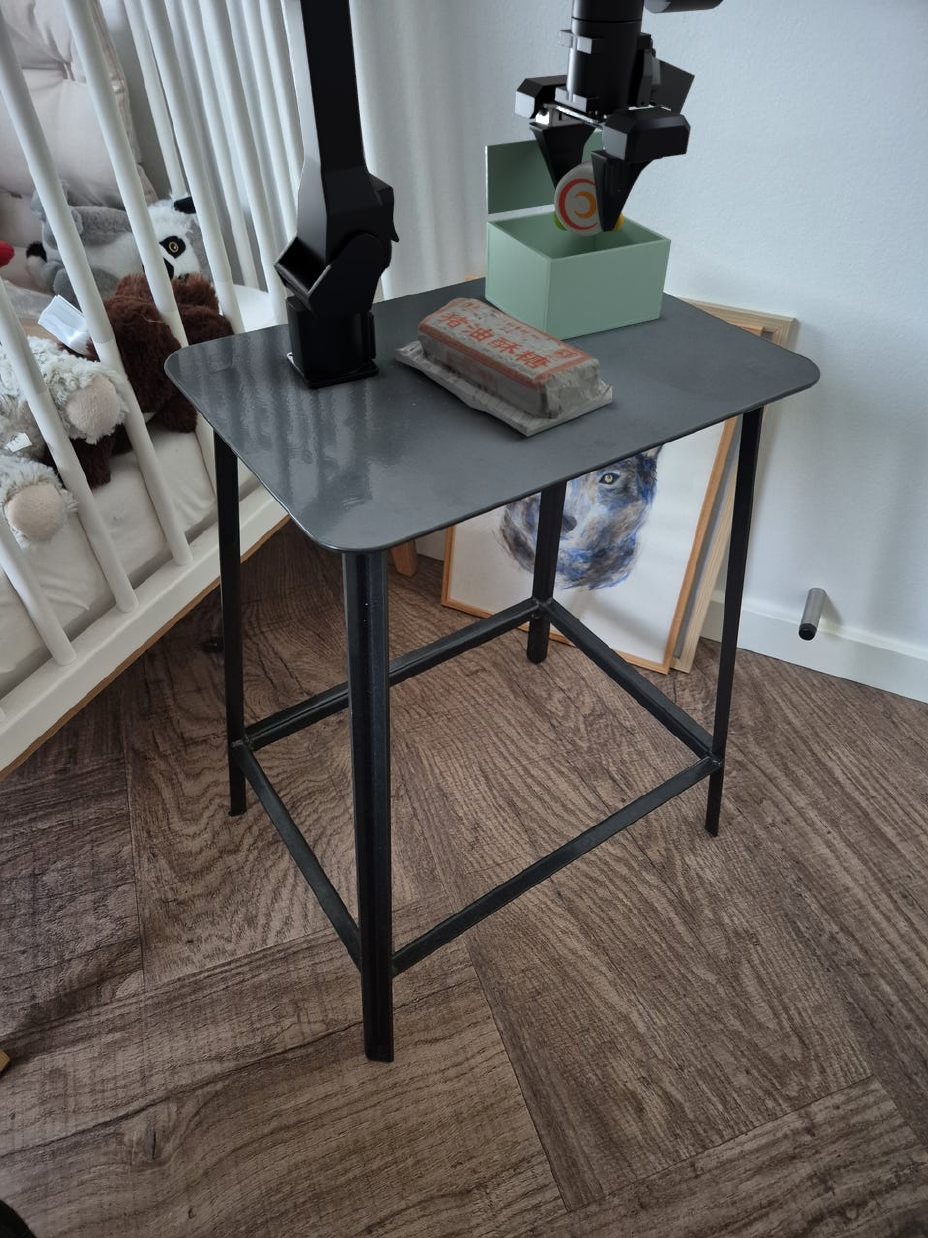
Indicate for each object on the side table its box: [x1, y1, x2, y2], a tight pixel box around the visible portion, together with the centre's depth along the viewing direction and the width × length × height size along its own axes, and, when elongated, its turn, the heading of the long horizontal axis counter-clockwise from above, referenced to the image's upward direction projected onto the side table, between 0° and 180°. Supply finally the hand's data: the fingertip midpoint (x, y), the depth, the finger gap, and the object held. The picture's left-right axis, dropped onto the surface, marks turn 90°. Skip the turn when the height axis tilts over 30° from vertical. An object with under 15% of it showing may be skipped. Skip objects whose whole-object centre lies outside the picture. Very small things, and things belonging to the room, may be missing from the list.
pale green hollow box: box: [484, 210, 672, 341], centre depth 86 cm, size 13×12×8 cm
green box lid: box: [485, 130, 605, 215], centre depth 85 cm, size 13×6×1 cm
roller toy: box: [553, 160, 624, 236], centre depth 81 cm, size 4×6×6 cm
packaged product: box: [393, 297, 613, 438], centre depth 75 cm, size 18×5×10 cm
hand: (587, 219), depth 82 cm, fingers closed on roller toy, 6 cm apart
